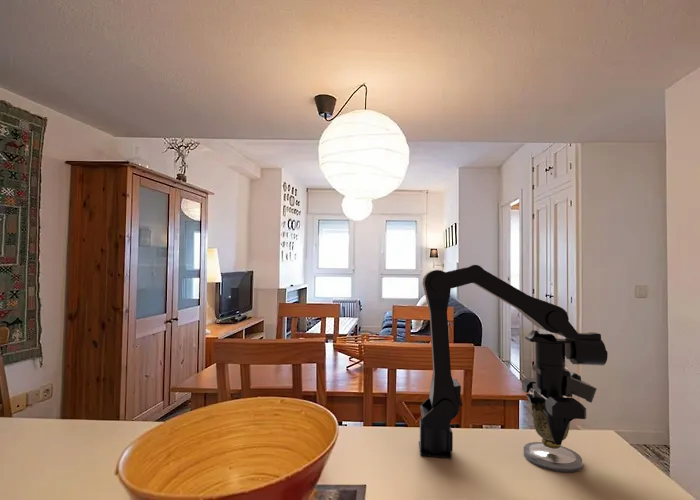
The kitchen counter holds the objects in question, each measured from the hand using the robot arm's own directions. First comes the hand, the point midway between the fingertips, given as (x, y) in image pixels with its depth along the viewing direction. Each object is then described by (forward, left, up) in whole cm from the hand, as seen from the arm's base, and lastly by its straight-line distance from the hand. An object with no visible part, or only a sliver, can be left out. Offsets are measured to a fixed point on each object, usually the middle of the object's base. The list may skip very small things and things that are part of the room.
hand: (551, 437), depth 81 cm
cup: (0, 0, -2) cm, 2 cm away
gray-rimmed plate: (0, 0, -5) cm, 5 cm away
